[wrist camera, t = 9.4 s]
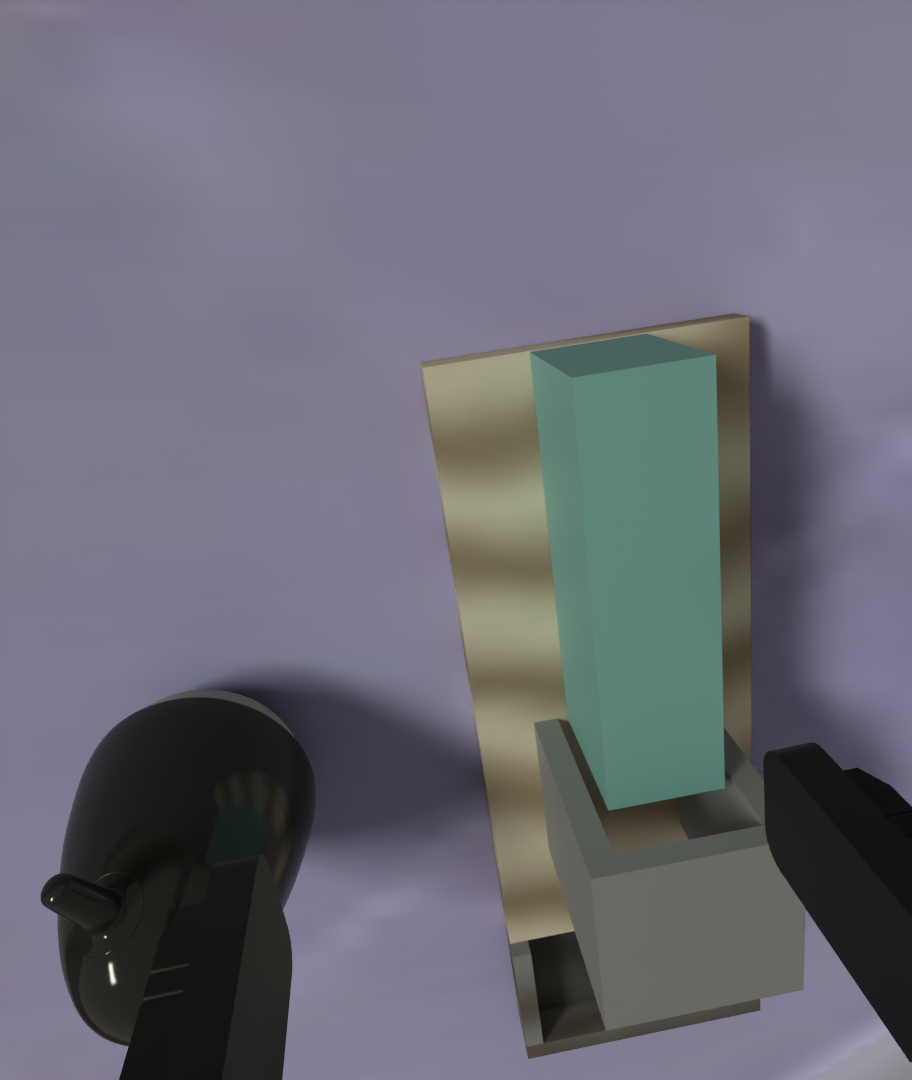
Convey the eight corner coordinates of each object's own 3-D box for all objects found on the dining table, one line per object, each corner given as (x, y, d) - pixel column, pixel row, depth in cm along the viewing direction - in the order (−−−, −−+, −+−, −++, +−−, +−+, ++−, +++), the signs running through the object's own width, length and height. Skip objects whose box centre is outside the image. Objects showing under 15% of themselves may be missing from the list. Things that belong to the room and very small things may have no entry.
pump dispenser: (252, 618, 38) (187, 844, 23) (354, 779, 41) (352, 1057, 27) (62, 710, 38) (-114, 984, 24) (180, 860, 42) (88, 1175, 28)
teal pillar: (529, 351, 33) (571, 378, 27) (646, 333, 33) (716, 354, 27) (567, 717, 40) (608, 810, 33) (665, 699, 40) (724, 788, 33)
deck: (420, 362, 34) (424, 371, 32) (733, 313, 35) (759, 318, 33) (520, 1021, 49) (528, 1058, 46) (742, 975, 49) (760, 1010, 47)
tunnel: (533, 722, 40) (590, 879, 30) (697, 692, 40) (807, 836, 30) (548, 849, 42) (605, 1030, 33) (702, 819, 43) (803, 989, 33)
